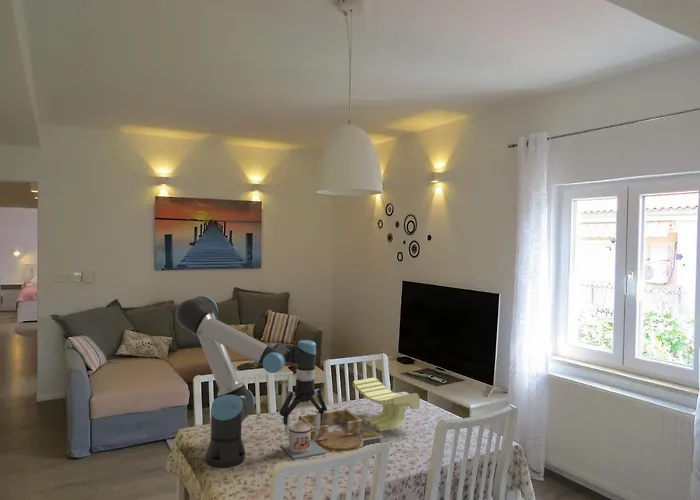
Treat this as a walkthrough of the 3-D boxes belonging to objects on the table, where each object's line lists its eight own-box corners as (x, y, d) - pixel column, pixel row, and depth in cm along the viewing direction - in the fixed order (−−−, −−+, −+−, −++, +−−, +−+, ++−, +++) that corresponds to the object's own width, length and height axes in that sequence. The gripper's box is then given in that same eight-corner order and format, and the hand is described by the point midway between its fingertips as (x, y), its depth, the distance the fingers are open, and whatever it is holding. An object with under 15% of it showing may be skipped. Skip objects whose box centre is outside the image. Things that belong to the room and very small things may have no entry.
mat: (293, 459, 200) (293, 458, 200) (281, 446, 213) (281, 444, 213) (325, 453, 207) (325, 452, 207) (312, 441, 219) (312, 439, 219)
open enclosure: (312, 442, 218) (313, 428, 218) (298, 429, 233) (298, 415, 232) (362, 433, 229) (363, 420, 229) (346, 421, 244) (346, 409, 244)
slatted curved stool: (418, 430, 236) (419, 391, 236) (392, 437, 226) (394, 397, 226) (377, 411, 260) (378, 376, 260) (352, 417, 250) (353, 381, 250)
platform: (345, 445, 217) (345, 430, 217) (382, 439, 225) (382, 424, 224) (357, 456, 206) (358, 440, 206) (396, 450, 214) (396, 434, 214)
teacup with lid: (292, 455, 203) (293, 426, 203) (285, 446, 211) (286, 418, 211) (320, 450, 208) (321, 422, 208) (312, 442, 216) (313, 415, 216)
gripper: (279, 383, 200) (276, 437, 201) (336, 378, 212) (333, 429, 212) (273, 378, 207) (270, 430, 207) (328, 374, 218) (326, 423, 219)
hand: (302, 430), depth 210 cm, fingers open, 13 cm apart
